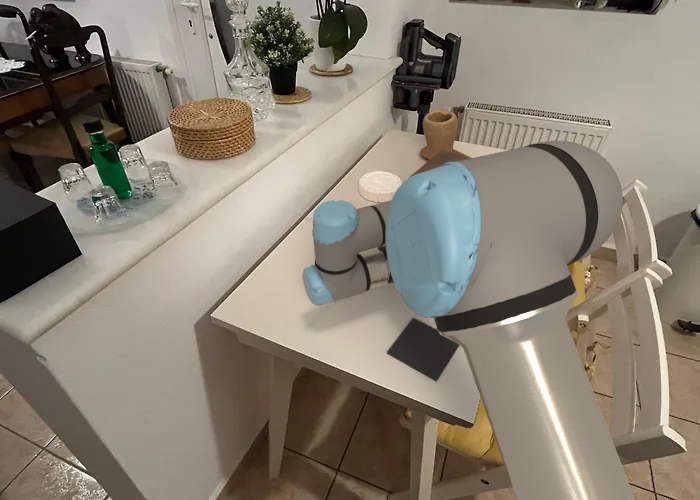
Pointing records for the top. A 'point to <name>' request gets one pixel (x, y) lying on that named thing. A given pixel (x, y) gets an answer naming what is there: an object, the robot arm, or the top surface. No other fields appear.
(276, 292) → the top surface
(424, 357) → the rubber mat
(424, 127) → the stone cup
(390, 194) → the mooncake
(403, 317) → the top surface
